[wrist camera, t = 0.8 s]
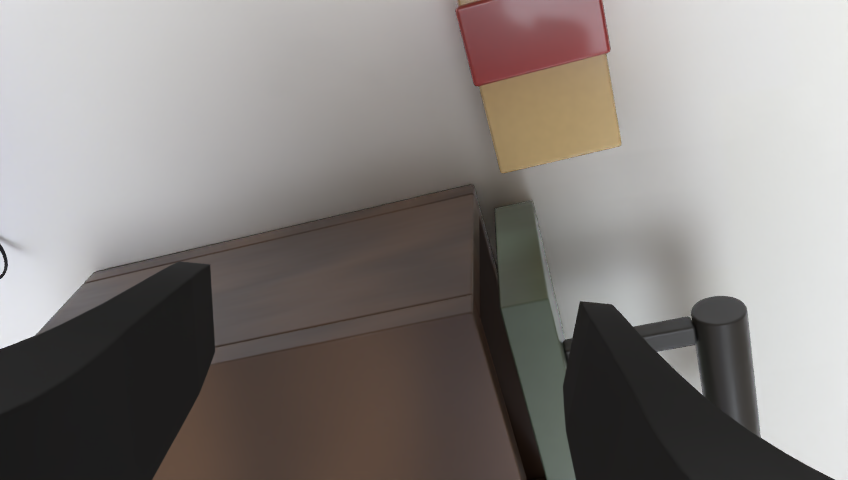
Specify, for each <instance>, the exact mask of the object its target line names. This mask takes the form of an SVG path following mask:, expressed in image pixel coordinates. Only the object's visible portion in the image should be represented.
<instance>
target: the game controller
mask: <svg viewBox="0 0 848 480" xmlns="http://www.w3.org/2000/svg"><path fill="white" fill-rule="evenodd" d="M0 251H1V253H2V255H3V258H4V262H5V267H4V271H3V273H2V274H1V275H0V279H1V278H2V277H3V276H4V275H5V273H6V271H7V266H8V261H7V257H6V254H5V251H4V249H3V247H2V246H1V244H0Z"/></svg>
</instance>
